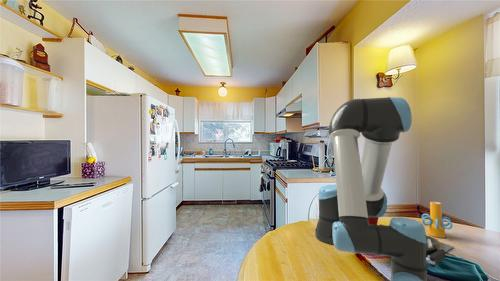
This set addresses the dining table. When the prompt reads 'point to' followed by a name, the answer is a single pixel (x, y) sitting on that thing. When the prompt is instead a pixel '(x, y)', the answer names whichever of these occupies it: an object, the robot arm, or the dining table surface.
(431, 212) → the cylinder
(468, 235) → the dining table surface
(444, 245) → the duct plate
